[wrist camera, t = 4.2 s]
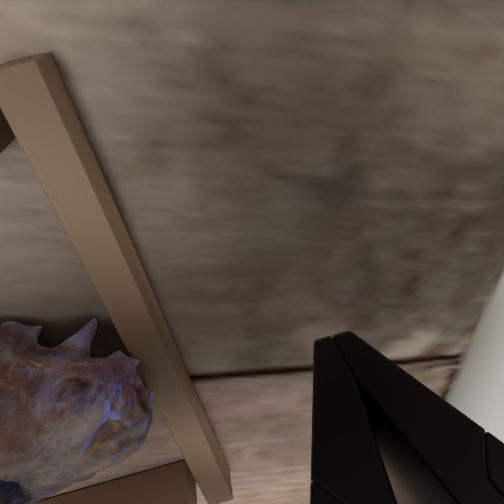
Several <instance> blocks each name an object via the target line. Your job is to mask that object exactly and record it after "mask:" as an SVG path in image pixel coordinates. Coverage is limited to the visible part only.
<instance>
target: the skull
mask: <svg viewBox="0 0 504 504" xmlns="http://www.w3.org/2000/svg"><path fill="white" fill-rule="evenodd" d="M97 323H98V320H97V319H96V318H93V319H92V320H91V321H90V322H88V323H87V324H86V325H85V326H84V327H83V328H82V329H81V330H79V331H78V332H77V333H76V334H75V335H73V336H71V337H70V338H68V339H67V340H66V341H64V342H63V343H62V344H60V345H59V346H57V347H53V348H48V347H44V346H40V345H39V343H38V339H37V337H38V336H39V334H40V331H41V329H42V326H25V325H22V324H20V323H18V322H15V321H7V322H4V323H2V324H0V504H37V503H38V502H39V501H40V500H42V499H44V498H46V497H48V496H50V495H52V494H54V493H56V492H58V491H60V490H62V489H64V488H66V487H68V486H70V485H72V484H73V483H75V482H80V481H84V480H87V479H89V478H91V477H92V476H93V475H95V474H96V473H97V472H98V471H100V470H102V469H105V468H107V467H110V466H112V465H115V464H118V463H120V462H121V461H123V460H124V459H126V458H127V457H128V456H130V455H131V454H133V453H134V452H136V451H137V450H138V448H139V447H140V446H141V445H142V444H143V442H144V440H145V438H146V436H147V433H148V430H149V427H150V424H151V421H152V410H151V403H152V400H153V393H152V392H150V393H149V394H148V395H147V396H146V391H145V387H144V384H143V380H142V378H141V377H140V376H139V375H138V374H137V372H136V365H137V364H138V363H139V361H138V360H137V359H134V358H129V357H126V356H125V355H124V354H123V353H122V352H121V350H120V351H116V352H114V353H113V354H111V355H110V356H108V357H107V358H91V357H89V355H90V344H91V341H92V339H93V337H94V335H95V333H96V329H97Z"/></svg>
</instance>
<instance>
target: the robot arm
mask: <svg viewBox="0 0 504 504" xmlns="http://www.w3.org/2000/svg"><path fill="white" fill-rule="evenodd" d="M311 482H312V483H311V487H310V504H504V444H503V442H501V441H500V440H498V439H497V438H496V437H494V436H493V435H492V434H490V433H489V432H486V433H485V430H484V429H483V428H482V427H481V426H479V425H478V424H477V423H475V422H474V421H472V420H471V419H470V418H468V417H467V416H466V415H464V414H463V413H462V412H460V411H459V410H457V409H456V408H455V407H453V406H452V405H451V404H449V403H448V402H447V401H445V400H444V399H442V398H441V397H440V396H438V395H437V394H436V393H434V392H433V391H432V390H430V389H429V388H427V387H426V386H425V385H423V384H422V383H421V382H419V381H418V380H417V379H415V378H414V377H413V376H411V375H410V374H408V373H407V372H406V371H404V370H403V369H402V368H400V367H399V366H398V365H396V364H395V363H393V362H392V361H391V360H389V359H388V358H387V357H385V356H384V355H383V354H381V353H380V352H378V351H377V350H376V349H374V348H373V347H372V346H370V345H369V344H368V343H366V342H365V341H363V340H362V339H361V338H359V337H358V336H357V335H355V334H354V333H353V332H351V331H345V332H342V333H338V334H335V335H333V337H331V336H327V337H324V338H320V339H316V340H315V341H314V353H313V401H312V450H311Z"/></svg>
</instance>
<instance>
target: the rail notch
mask: <svg viewBox="0 0 504 504" xmlns="http://www.w3.org/2000/svg"><path fill="white" fill-rule="evenodd" d="M15 138H17V140H18V142H19V144H20V146H21V148H22V150H23V152H24V154H25V156H26V158H27V159H28V161H29V163H30V165H31V167H32V169H33V171H34V173H35V175H36V177H37V178H38V180H39V182H40V184H41V186H42V188H43V190H44V192H45V194H46V196H47V198H48V199H49V201H50V203H51V205H52V207H53V209H54V211H55V213H56V215H57V217H58V219H59V220H60V222H61V224H62V226H63V228H64V230H65V232H66V234H67V236H68V238H69V239H70V241H71V243H72V245H73V247H74V249H75V251H76V253H77V255H78V257H79V259H80V260H81V262H82V264H83V266H84V268H85V270H86V272H87V274H88V276H89V278H90V280H91V281H92V283H93V285H94V287H95V289H96V291H97V293H98V295H99V297H100V299H101V300H102V302H103V304H104V306H105V308H106V310H107V312H108V314H109V316H110V318H111V320H112V321H113V323H114V325H115V327H116V329H117V331H118V333H119V335H120V337H121V339H122V340H123V342H124V344H125V346H126V348H127V350H128V352H129V354H130V356H131V358H134V359H137V360H138V361H139V363H138V364H137V365H136V367H137V369H138V371H139V373H140V375H141V377H142V379H143V381H144V382H145V384H146V386H147V388H148V390H149V392H152V393H153V400H154V401H155V403H156V405H157V407H158V409H159V411H160V413H161V415H162V417H163V419H164V421H165V422H166V424H167V426H168V428H169V430H170V432H171V434H172V436H173V438H174V440H175V442H176V443H177V445H178V447H179V449H180V451H181V453H182V455H183V457H184V459H185V460H184V461H181V462H177V463H174V464H170V465H167V466H163V467H160V468H156V469H153V470H149V471H145V472H142V473H138V474H135V475H131V476H128V477H124V478H121V479H117V480H114V481H110V482H106V483H103V484H99V485H96V486H92V487H89V488H85V489H82V490H78V491H75V492H71V493H68V494H64V495H60V496H57V497H53V498H50V499H46V500H43V501H39V502H38V503H37V504H197V497H196V482H197V483H198V485H199V487H200V489H201V491H202V493H203V495H204V497H205V499H206V501H207V503H208V504H217V503H221V502H224V501H228V500H231V499H233V494H232V486H231V478H230V471H229V468H228V465H227V463H226V461H225V458H224V456H223V454H222V451H221V449H220V447H219V444H218V442H217V440H216V437H215V435H214V433H213V430H212V428H211V426H210V423H209V421H208V419H207V416H206V414H205V412H204V409H203V407H202V405H201V402H200V400H199V398H198V395H197V393H196V391H195V388H194V386H193V384H192V381H191V379H190V377H189V374H188V372H187V370H186V367H185V365H184V363H183V360H182V358H181V356H180V353H179V351H178V349H177V346H176V344H175V342H174V339H173V337H172V335H171V332H170V330H169V328H168V325H167V323H166V321H165V318H164V316H163V314H162V311H161V309H160V307H159V304H158V302H157V300H156V297H155V295H154V293H153V290H152V288H151V286H150V283H149V281H148V279H147V276H146V274H145V272H144V269H143V267H142V265H141V262H140V260H139V258H138V255H137V253H136V251H135V248H134V246H133V244H132V241H131V239H130V237H129V234H128V232H127V230H126V227H125V225H124V223H123V220H122V218H121V216H120V213H119V211H118V209H117V206H116V204H115V202H114V199H113V197H112V195H111V192H110V190H109V188H108V185H107V183H106V181H105V179H104V176H103V174H102V172H101V169H100V167H99V165H98V162H97V160H96V158H95V155H94V153H93V151H92V148H91V146H90V144H89V141H88V139H87V137H86V134H85V132H84V130H83V127H82V125H81V123H80V120H79V118H78V116H77V113H76V111H75V109H74V106H73V104H72V102H71V99H70V97H69V95H68V92H67V90H66V88H65V85H64V83H63V81H62V78H61V76H60V74H59V71H58V69H57V67H56V64H55V62H54V60H53V57H52V55H51V53H50V52H47V53H43V54H39V55H35V56H31V57H27V58H23V59H19V60H15V61H11V62H7V63H3V64H1V65H0V153H1V152H2V151H3V150H4V149H5V148H6V147H7V146H8V145H9V144H10V143H11V142H12V141H13V140H14V139H15Z"/></svg>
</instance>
